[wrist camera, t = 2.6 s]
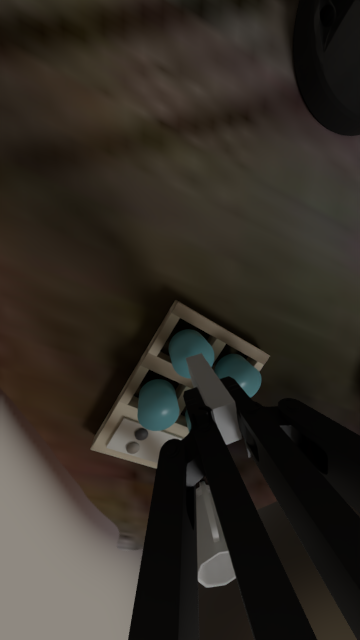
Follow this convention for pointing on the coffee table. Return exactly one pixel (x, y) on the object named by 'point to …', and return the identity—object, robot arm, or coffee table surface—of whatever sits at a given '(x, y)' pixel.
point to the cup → (211, 542)
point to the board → (122, 422)
